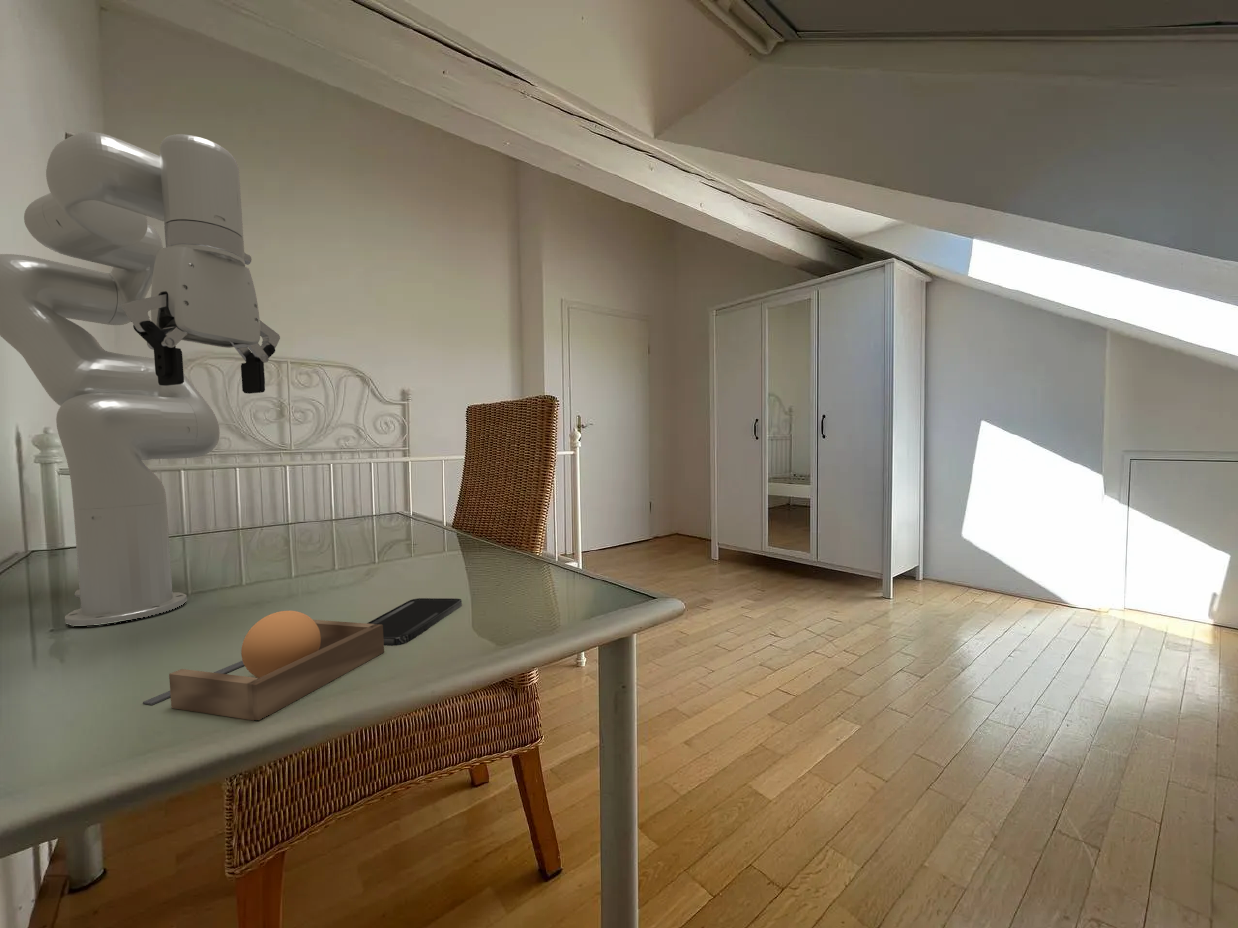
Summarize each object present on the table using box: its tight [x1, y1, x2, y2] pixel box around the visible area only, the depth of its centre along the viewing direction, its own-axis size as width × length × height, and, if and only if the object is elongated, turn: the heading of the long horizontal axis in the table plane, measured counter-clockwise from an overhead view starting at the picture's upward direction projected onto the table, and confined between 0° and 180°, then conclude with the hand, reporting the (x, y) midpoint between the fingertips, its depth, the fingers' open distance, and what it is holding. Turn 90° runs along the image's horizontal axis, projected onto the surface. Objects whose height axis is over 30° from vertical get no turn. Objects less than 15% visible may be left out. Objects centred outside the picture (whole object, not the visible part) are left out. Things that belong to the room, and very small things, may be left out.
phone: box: [366, 597, 463, 646], centre depth 64 cm, size 8×1×15 cm
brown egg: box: [240, 610, 321, 678], centre depth 49 cm, size 6×6×6 cm
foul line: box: [142, 660, 245, 706], centre depth 51 cm, size 1×14×1 cm, turn 164°
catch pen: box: [168, 619, 385, 721], centre depth 49 cm, size 10×14×3 cm
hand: (215, 389), depth 62 cm, fingers open, 9 cm apart
